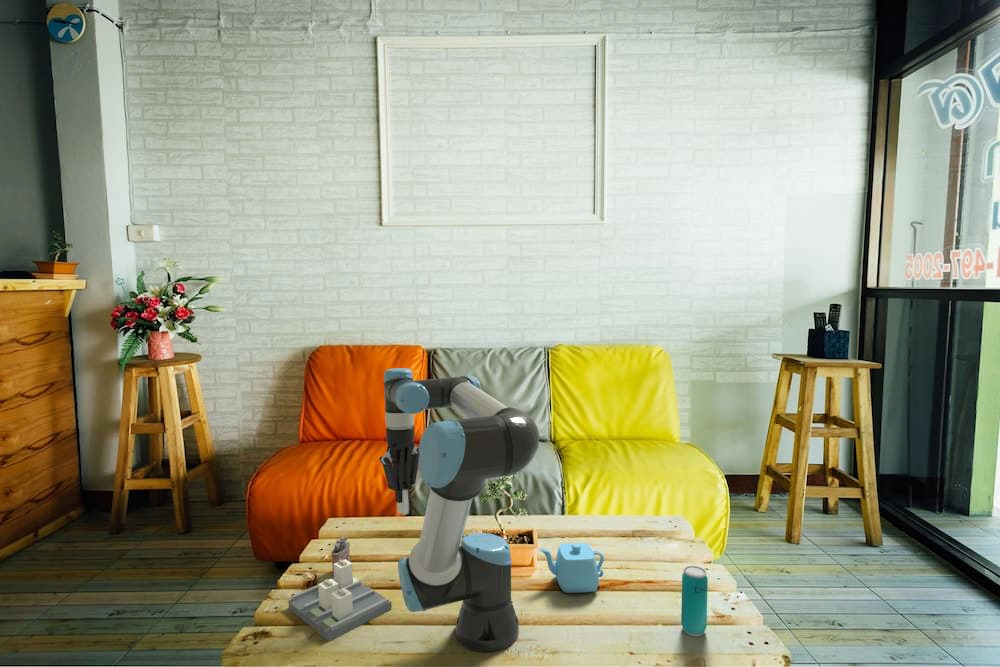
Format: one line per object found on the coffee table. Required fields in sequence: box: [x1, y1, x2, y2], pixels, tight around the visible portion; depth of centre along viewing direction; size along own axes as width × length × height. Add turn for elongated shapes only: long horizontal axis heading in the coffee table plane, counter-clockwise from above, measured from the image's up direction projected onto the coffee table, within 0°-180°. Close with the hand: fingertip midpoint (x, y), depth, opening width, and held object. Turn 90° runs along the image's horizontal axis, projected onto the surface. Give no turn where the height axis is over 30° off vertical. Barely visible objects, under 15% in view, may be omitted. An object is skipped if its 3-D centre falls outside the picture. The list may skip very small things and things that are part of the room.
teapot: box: [538, 542, 605, 594], centre depth 157 cm, size 12×18×12 cm
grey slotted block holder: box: [287, 576, 393, 642], centre depth 147 cm, size 20×18×3 cm
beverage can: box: [680, 565, 709, 638], centre depth 135 cm, size 6×6×15 cm
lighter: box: [330, 535, 351, 579], centre depth 165 cm, size 8×3×10 cm, turn 168°
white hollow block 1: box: [333, 559, 354, 588], centre depth 155 cm, size 4×4×6 cm
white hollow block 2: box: [331, 588, 353, 621], centre depth 140 cm, size 4×4×6 cm
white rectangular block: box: [317, 578, 339, 611], centre depth 144 cm, size 4×4×6 cm
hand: (403, 512), depth 153 cm, fingers closed
